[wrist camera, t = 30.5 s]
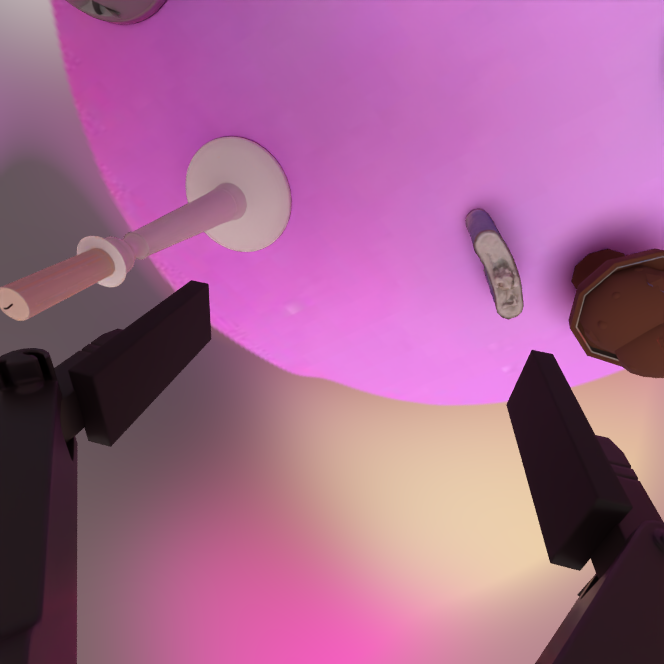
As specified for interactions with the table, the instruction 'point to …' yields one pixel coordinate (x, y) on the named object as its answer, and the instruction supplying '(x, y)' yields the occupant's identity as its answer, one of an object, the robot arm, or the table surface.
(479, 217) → the flask
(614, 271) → the ice cream bowl
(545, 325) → the table surface
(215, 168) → the candlestick
